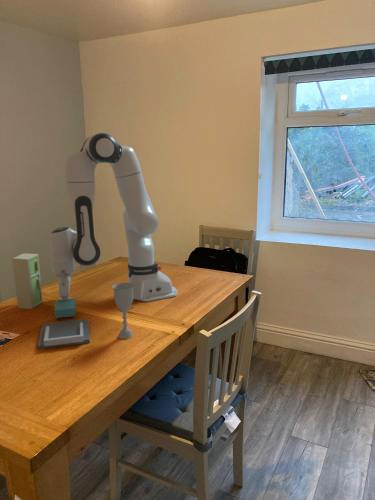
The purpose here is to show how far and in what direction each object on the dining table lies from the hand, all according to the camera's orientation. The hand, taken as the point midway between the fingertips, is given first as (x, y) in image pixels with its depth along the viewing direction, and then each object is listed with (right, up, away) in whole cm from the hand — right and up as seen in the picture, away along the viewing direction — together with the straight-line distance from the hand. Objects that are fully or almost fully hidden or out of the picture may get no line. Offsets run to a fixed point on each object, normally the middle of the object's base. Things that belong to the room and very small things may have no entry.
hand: (66, 299), depth 160 cm
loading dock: (+7, -9, -25) cm, 27 cm away
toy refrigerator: (-14, -2, 0) cm, 15 cm away
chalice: (+29, -9, -27) cm, 40 cm away
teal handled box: (+3, -5, -10) cm, 11 cm away
